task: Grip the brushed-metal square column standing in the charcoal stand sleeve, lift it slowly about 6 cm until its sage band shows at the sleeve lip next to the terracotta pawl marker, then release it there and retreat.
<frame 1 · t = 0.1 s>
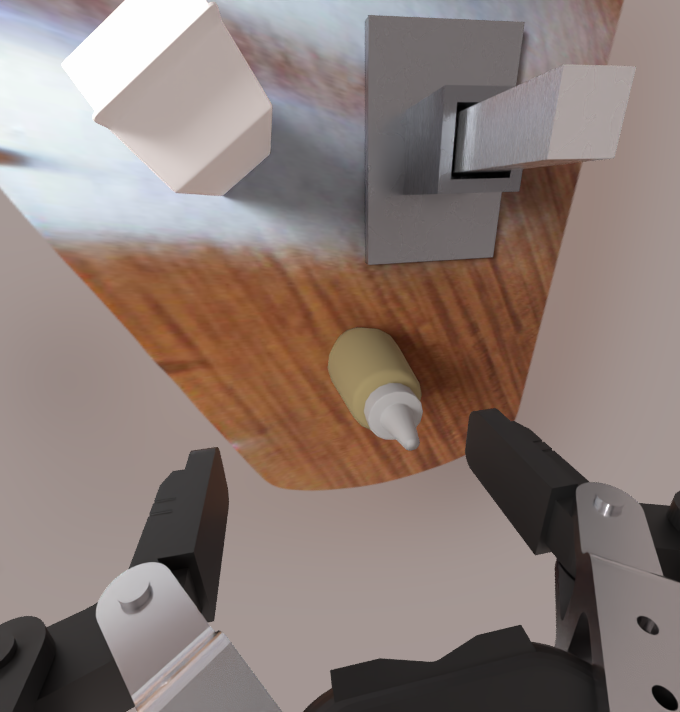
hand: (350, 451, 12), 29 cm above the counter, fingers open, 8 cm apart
milk: (223, 145, 33), on the counter
stand: (434, 155, 36), on the counter
column: (492, 139, 27), point 10 cm above the counter, slide at 0.0 cm
squeeze bottle: (356, 349, 43), on the counter
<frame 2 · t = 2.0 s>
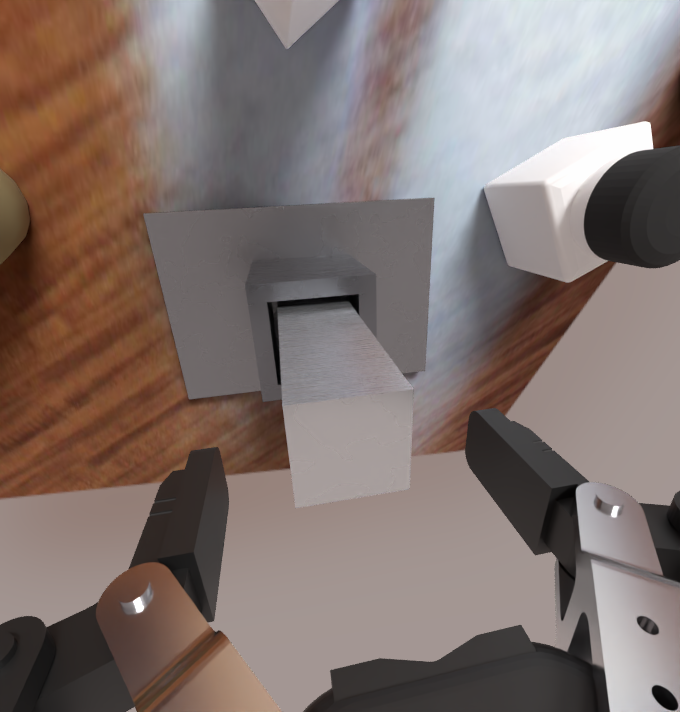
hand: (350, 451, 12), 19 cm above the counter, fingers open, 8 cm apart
medicine bottle: (532, 205, 29), on the counter
stand: (304, 300, 29), on the counter
column: (319, 347, 20), point 10 cm above the counter, slide at 0.0 cm
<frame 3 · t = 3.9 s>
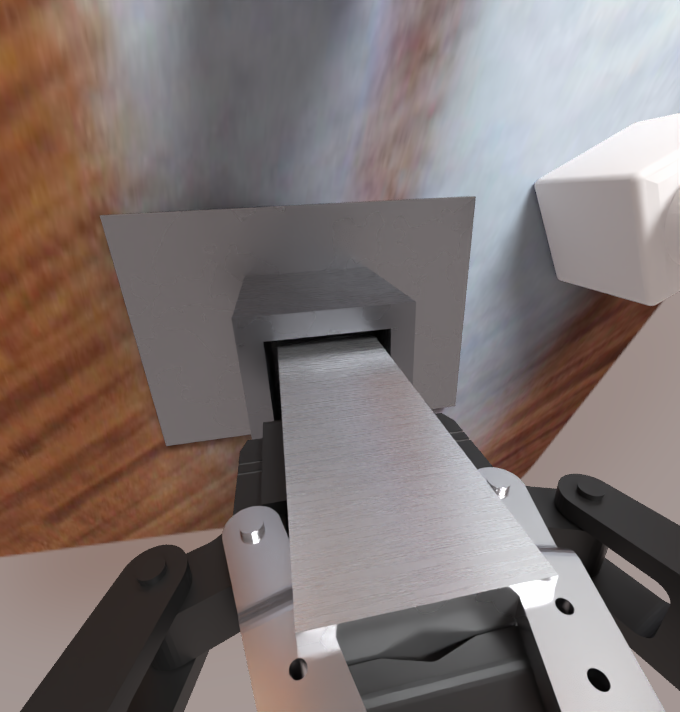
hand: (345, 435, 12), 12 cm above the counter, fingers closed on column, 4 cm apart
medicine bottle: (590, 206, 24), on the counter
stand: (309, 322, 23), on the counter
column: (336, 403, 14), point 10 cm above the counter, slide at 0.0 cm, touching gripper, stand
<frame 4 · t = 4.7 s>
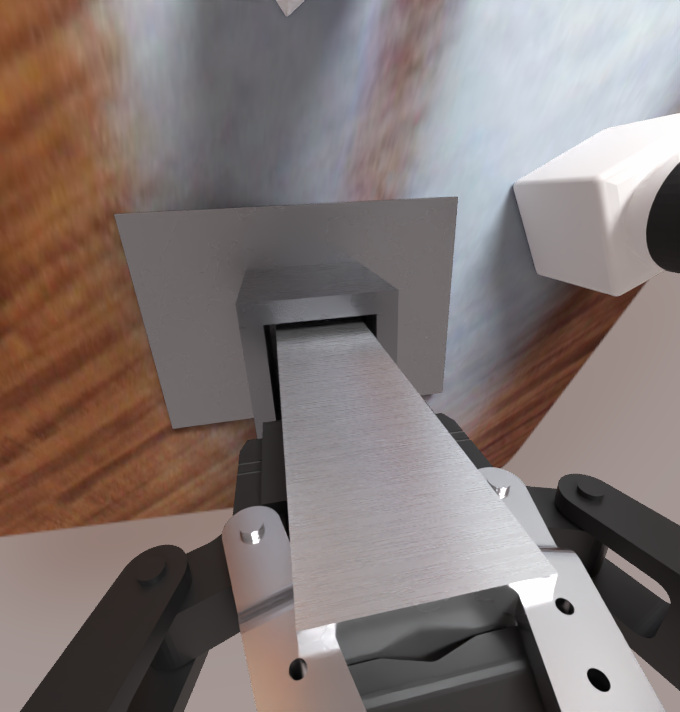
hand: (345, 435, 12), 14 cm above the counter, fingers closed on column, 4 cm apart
medicine bottle: (565, 206, 26), on the counter
stand: (305, 314, 25), on the counter
column: (335, 403, 14), point 12 cm above the counter, slide at 2.0 cm, touching gripper
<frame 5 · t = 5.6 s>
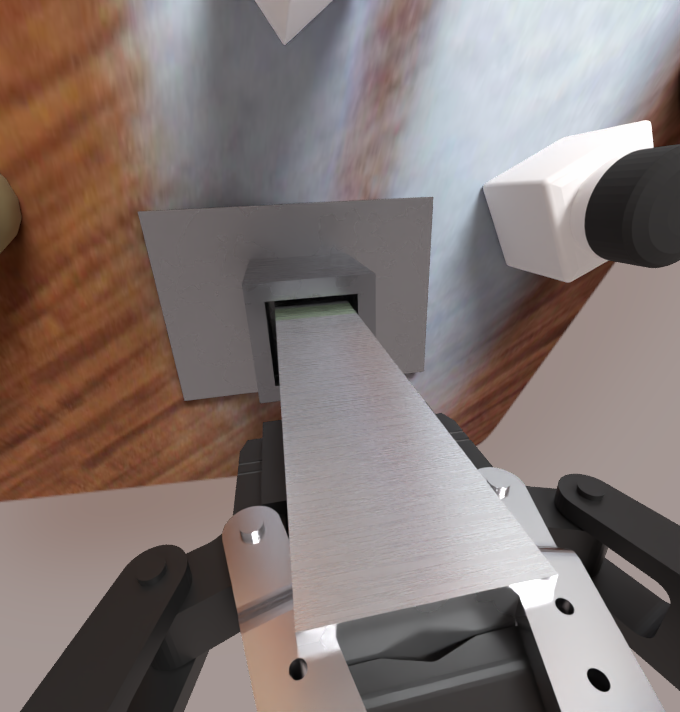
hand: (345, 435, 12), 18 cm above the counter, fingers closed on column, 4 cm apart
medicine bottle: (531, 205, 29), on the counter
stand: (301, 299, 29), on the counter
column: (335, 403, 14), point 16 cm above the counter, slide at 5.9 cm, touching gripper
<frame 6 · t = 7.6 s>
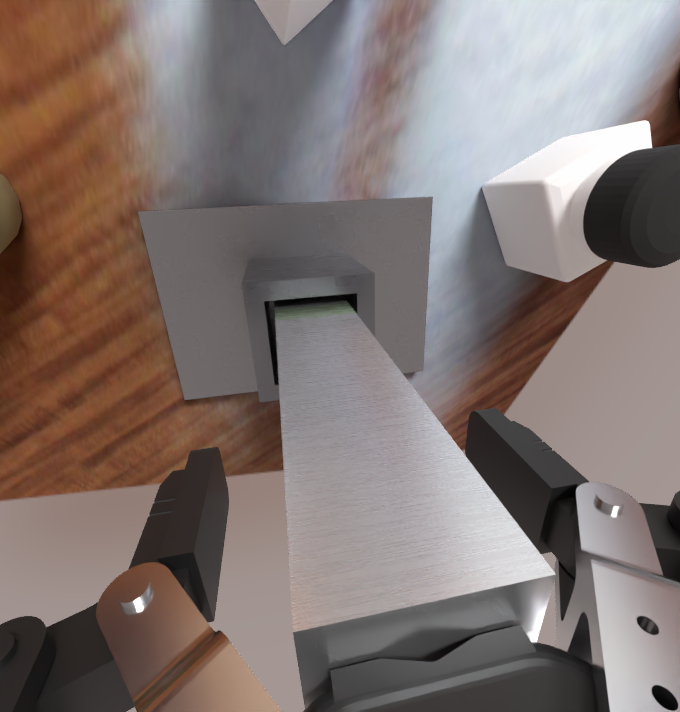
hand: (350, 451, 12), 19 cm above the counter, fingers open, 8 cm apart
medicine bottle: (530, 205, 29), on the counter
stand: (301, 299, 29), on the counter
column: (335, 403, 14), point 16 cm above the counter, slide at 6.0 cm
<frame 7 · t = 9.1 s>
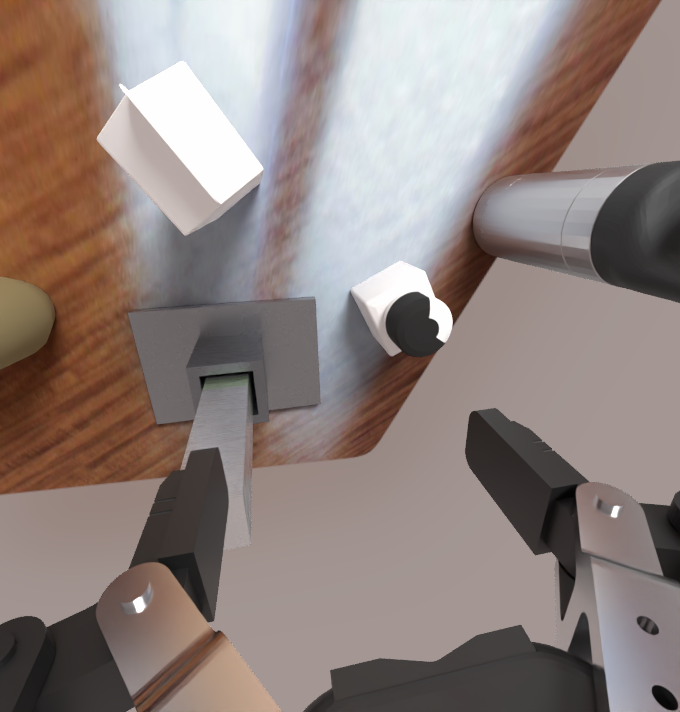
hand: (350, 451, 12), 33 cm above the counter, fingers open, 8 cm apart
medicine bottle: (385, 298, 45), on the counter
milk: (218, 175, 37), on the counter
stand: (234, 359, 44), on the counter
column: (224, 437, 30), point 16 cm above the counter, slide at 6.0 cm
squeeze bottle: (24, 307, 38), on the counter
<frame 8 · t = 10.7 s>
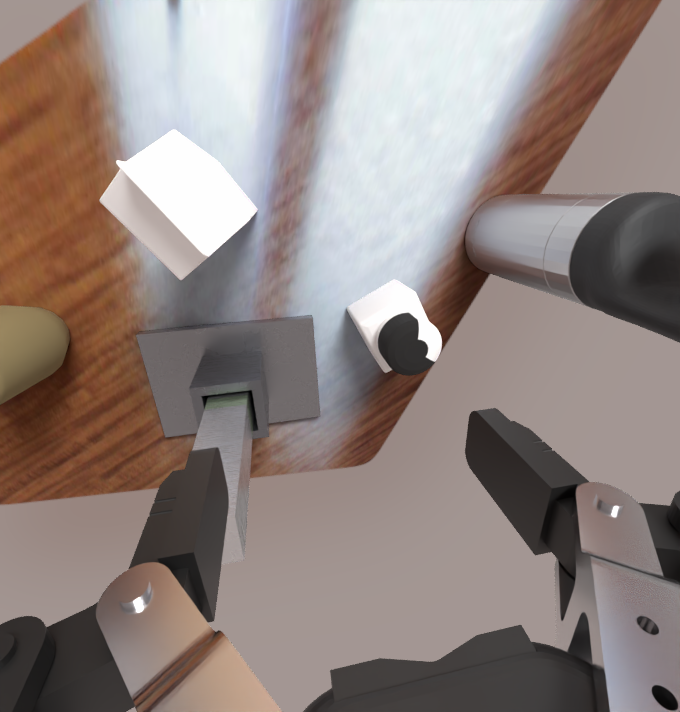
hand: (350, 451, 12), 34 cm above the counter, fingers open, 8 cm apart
medicine bottle: (381, 315, 47), on the counter
milk: (217, 204, 39), on the counter
stand: (237, 375, 46), on the counter
column: (223, 456, 32), point 16 cm above the counter, slide at 6.0 cm
squeeze bottle: (41, 331, 40), on the counter
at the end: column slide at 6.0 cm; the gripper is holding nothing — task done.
